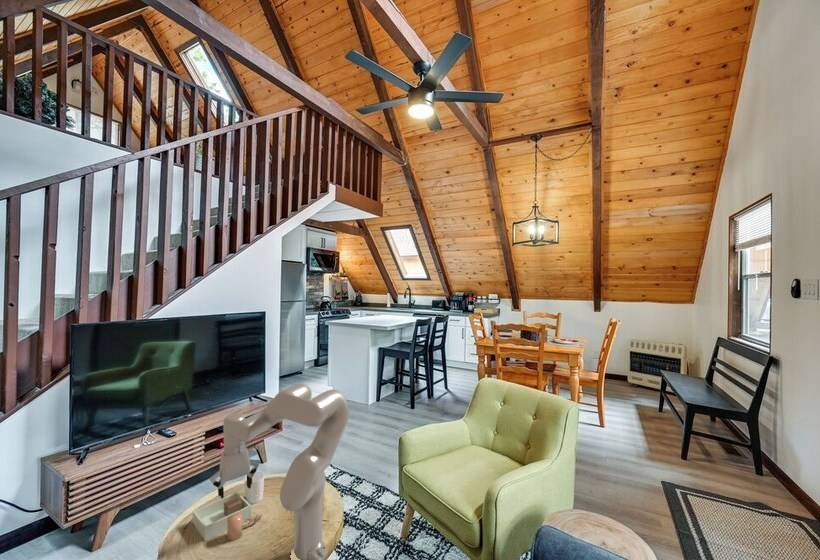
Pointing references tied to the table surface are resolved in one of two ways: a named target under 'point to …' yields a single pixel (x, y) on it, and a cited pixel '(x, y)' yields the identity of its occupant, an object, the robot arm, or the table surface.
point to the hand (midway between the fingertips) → (235, 491)
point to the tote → (217, 516)
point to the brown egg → (234, 527)
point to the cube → (232, 506)
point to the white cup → (255, 488)
